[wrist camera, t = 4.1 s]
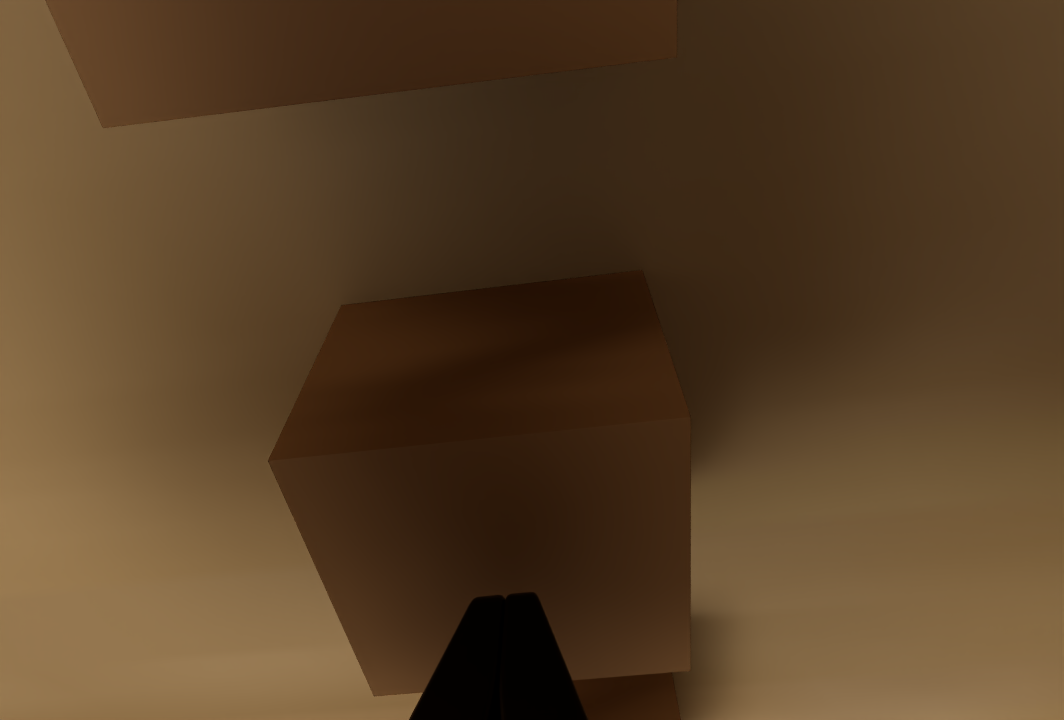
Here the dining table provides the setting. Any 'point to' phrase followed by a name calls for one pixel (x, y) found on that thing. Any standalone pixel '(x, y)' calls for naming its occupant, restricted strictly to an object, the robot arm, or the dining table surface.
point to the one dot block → (629, 697)
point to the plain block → (498, 474)
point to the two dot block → (335, 48)
